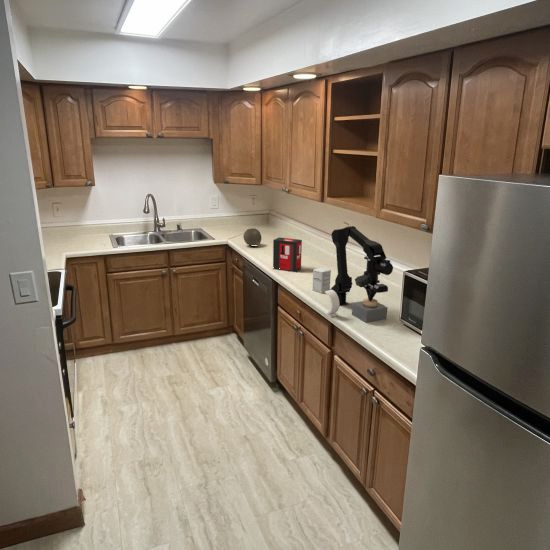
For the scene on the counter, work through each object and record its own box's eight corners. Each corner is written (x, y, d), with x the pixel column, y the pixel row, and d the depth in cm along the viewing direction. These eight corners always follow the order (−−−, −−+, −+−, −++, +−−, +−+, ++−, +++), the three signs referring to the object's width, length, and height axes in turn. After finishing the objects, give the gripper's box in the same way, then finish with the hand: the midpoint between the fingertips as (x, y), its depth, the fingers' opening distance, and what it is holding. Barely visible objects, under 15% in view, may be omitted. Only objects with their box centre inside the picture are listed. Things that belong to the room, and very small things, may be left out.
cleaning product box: (273, 269, 299) (273, 239, 293) (278, 266, 306) (278, 237, 301) (295, 272, 292) (296, 242, 286) (300, 269, 300) (301, 239, 294)
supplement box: (311, 290, 257) (312, 269, 254) (321, 287, 262) (321, 267, 258) (321, 293, 252) (322, 272, 248) (330, 291, 256) (331, 269, 253)
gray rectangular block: (351, 314, 222) (352, 302, 220) (375, 310, 227) (376, 299, 226) (365, 323, 211) (366, 310, 210) (389, 318, 217) (391, 306, 215)
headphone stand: (330, 312, 224) (332, 289, 221) (338, 316, 219) (340, 293, 216) (323, 314, 222) (324, 291, 218) (331, 318, 217) (332, 294, 214)
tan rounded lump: (359, 310, 220) (360, 299, 218) (371, 308, 223) (371, 297, 221) (367, 315, 214) (368, 304, 212) (379, 313, 217) (380, 302, 215)
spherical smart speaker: (254, 244, 370) (254, 226, 366) (264, 247, 360) (265, 228, 355) (240, 246, 361) (240, 228, 357) (250, 249, 351) (250, 230, 347)
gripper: (347, 266, 217) (345, 296, 222) (370, 277, 201) (367, 309, 205) (366, 264, 221) (364, 294, 226) (390, 274, 205) (387, 306, 210)
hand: (370, 300), depth 217 cm, fingers closed, pressing on tan rounded lump
